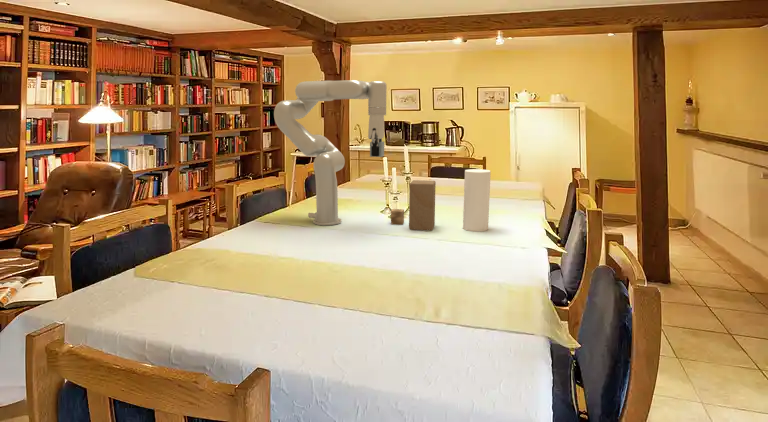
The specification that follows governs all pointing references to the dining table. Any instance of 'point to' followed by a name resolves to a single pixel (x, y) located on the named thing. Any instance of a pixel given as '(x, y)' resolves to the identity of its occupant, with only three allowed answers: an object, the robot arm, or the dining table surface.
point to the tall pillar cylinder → (476, 199)
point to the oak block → (397, 216)
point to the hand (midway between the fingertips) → (376, 155)
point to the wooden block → (422, 205)
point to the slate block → (381, 149)
